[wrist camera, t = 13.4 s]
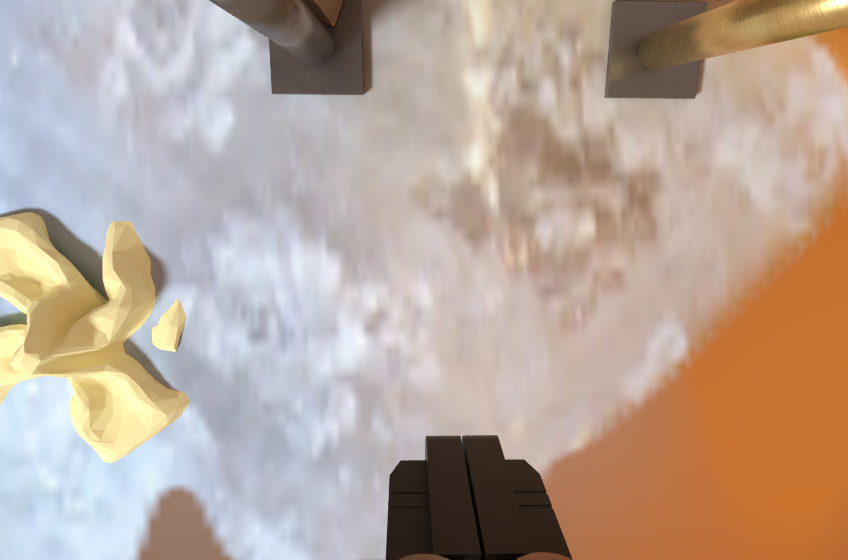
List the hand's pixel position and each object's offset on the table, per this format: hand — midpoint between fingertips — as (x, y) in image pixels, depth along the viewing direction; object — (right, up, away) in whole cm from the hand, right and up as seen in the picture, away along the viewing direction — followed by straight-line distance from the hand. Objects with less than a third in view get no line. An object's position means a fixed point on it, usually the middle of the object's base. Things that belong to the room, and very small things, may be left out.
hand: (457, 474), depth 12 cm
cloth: (-26, +1, +32) cm, 41 cm away
